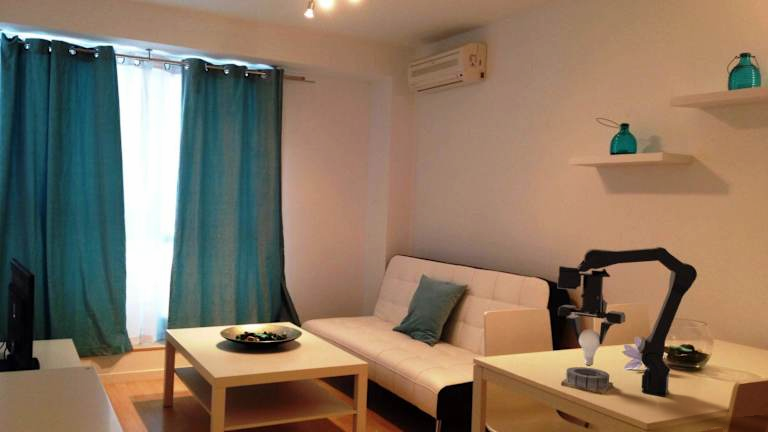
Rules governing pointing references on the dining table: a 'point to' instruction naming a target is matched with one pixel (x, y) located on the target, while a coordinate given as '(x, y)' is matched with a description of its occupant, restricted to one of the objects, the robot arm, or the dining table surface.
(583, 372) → the grey stone fire pit
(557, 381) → the dining table surface
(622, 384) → the dining table surface
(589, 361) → the lightbulb
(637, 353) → the water lily
